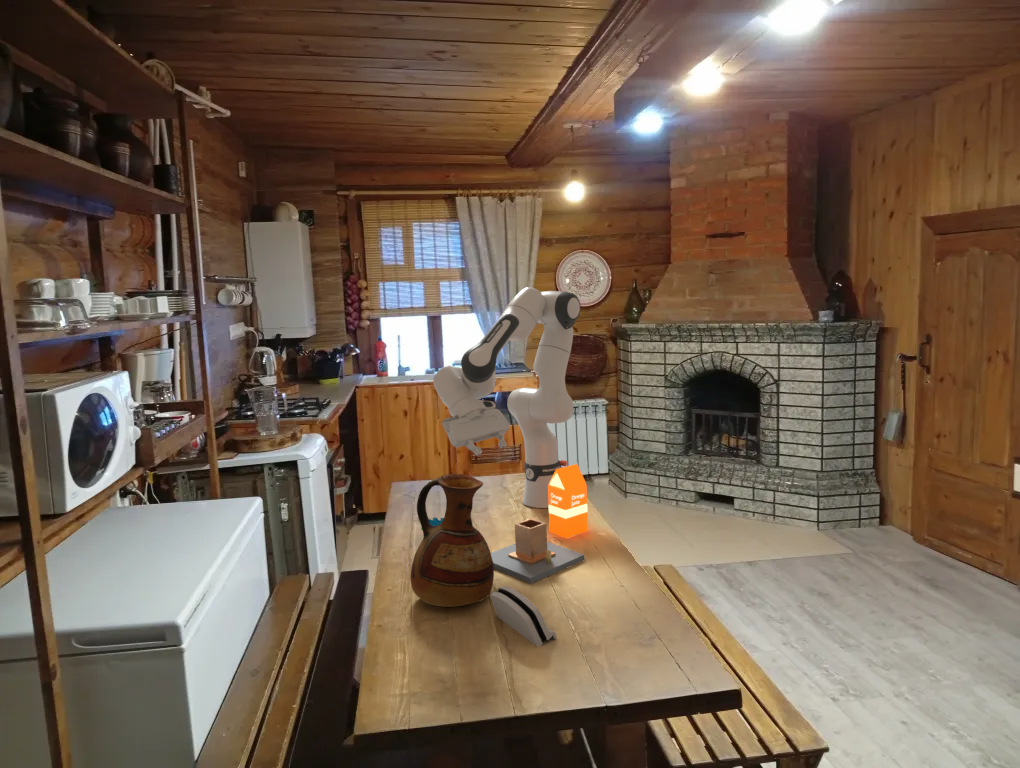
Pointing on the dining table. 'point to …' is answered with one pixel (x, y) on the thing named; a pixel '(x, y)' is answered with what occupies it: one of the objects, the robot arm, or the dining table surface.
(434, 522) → the gear
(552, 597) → the dining table surface
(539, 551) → the copper sleeve
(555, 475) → the orange juice
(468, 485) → the ceramic pitcher
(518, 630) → the half-moon napkin holder
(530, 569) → the base plate
